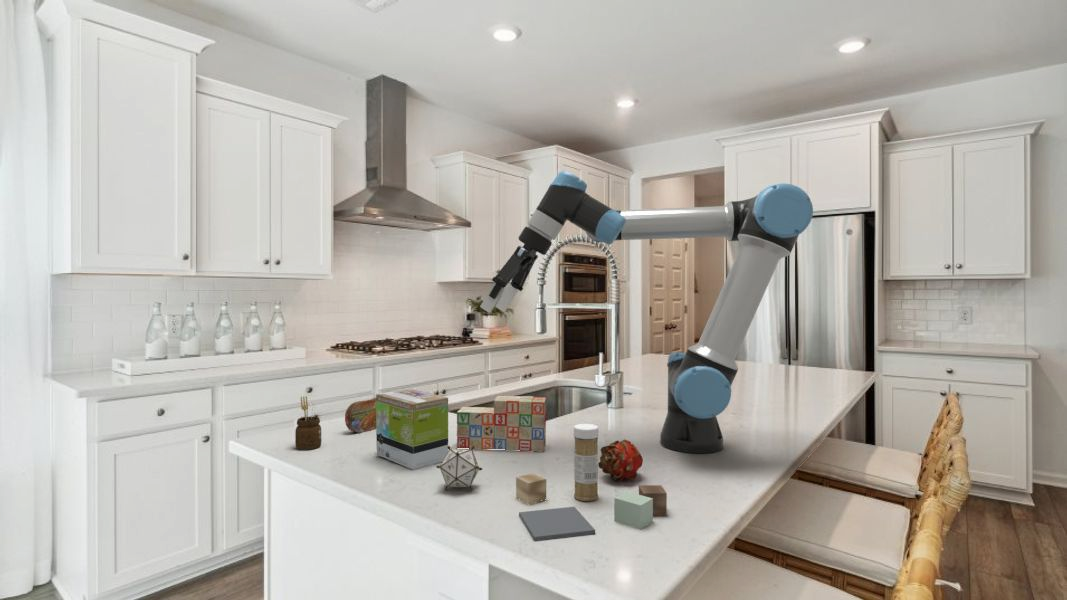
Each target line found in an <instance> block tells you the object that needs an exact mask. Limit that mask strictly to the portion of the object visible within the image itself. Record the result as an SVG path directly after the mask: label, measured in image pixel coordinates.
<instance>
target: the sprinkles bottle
mask: <svg viewBox="0 0 1067 600" xmlns="http://www.w3.org/2000/svg"><path fill="white" fill-rule="evenodd" d="M599 432H600V431H599V426H598V425H596V424H592V423H578V424H575V425H574V426H573V438H574V459H573V460H574V466H573V467H574V476H573V477H574V494H573V496H574V498H575V499H576V500H579V501H581V502H593V501H596V500H597V499H598V498H599V494H598V487H599V485H598V484H599V483H598V479H599V466H598V463H599V454H598V453H599V451H598V448H599V447H598V442H599V441H598V439H599Z"/></svg>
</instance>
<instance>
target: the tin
mask: <svg viewBox="0 0 1067 600" xmlns="http://www.w3.org/2000/svg"><path fill="white" fill-rule="evenodd" d="M344 422H345V425H346V428H347V429H348V430H349V431H351V432H353V433H359V434H362V433H367V432H370V431H372V430H373V431H374V430H376V397H373V398H367V399H364V400H359V401H355V402H353V403H350V405H349V406H348V407H347V409H346V410H345V414H344Z"/></svg>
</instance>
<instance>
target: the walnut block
mask: <svg viewBox="0 0 1067 600" xmlns="http://www.w3.org/2000/svg"><path fill="white" fill-rule="evenodd" d="M638 495H642V496H646V497H649V498H653V517H667V515H668V513H667V507H668V506H667V502H668V500H667V499H668V498H667V497H668V495H667V491H666V490H665V489H664V487H663V486H662V485H661V484H659V485H657V484H651V485H650V484H649V485H648V484H646V485H645V484H640V485H638Z"/></svg>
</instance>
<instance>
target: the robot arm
mask: <svg viewBox="0 0 1067 600" xmlns="http://www.w3.org/2000/svg"><path fill="white" fill-rule="evenodd" d="M587 188H588V184H587V183H586V181H584V180H583V179H582V178H579V177H578V176H577V175H576V174H573V173H572V172H570V171H567V170H561V171H559V172H558V173H557V175H556V177H555V178H554V179H553V181H552V182H551V183H550V184H549V187H548V188H547V190H546V191H545V194H544V195H543V197H542V198H541V200H540V202H539V203H538V205H537V206H536V208H535V210H534V212H533V211H532V212H530V214H529V215H530V216H531V217H530V219H529V220H528V222H527V225H528V226H524V228H523V229H522V231H521V232H520V234H519V236H518V241H520V242H521V243H522V244H523V246H521V245H518V246H517V247H516V249H515V251H514V252H513V254H512V255H511V256H510V257H509V259H508V260H507V261H506V263H505V264H504V265H503V266H502V268H501V269H500V270H499V271H498V273H497V274H496V275H495V276H493V277H492V279H491V281H492V282H494V283H493V284H492V285H491V288H490V290H488V293H487V295H486V296H485V298H484V300H482V303H481V304H480V306H479V308H481V309H483V310H484V311H485V312H487V313H489V314H491V313H492V311H493V310H494V308H496V309H498V310H499V311H501V312H503V313H505V312H507V311H506V310H507V309H508V308H509V306H510V305H511V303H512V301H513V300H514V298H515V297H516V295H517V293H518V291H520V292H522V291H523V290H524V285H525V283H526V280H527V278H528V276H529V274H530V273H531V270H532V268H533V266H534V264H535V262H536V261H537V259H538V258H539V255H538V254H537V253H539V254H540V255H542V256H545V255H547V253H548V251H549V250H550V248H551V246H552V243H553V240H554V241H555V240H556V239H557V237H558V236H559V234H560V232H561V230H562V229H563V227H564V225H565V223H567V221H568V222H569V223H571V224H573V225H575V226H576V227H577V228H580V229H581V230H582V231H584V232H585V234H586V235H587V237H588V238H589V239H590V240H592V241H594V242H596V243H604V244H606V245H608V246H609V245H611V244H613V243H614V242H615V241H635V240H664V239H665V240H666V239H667V240H668V239H671V240H673V239H697V238H698V239H699V238H701V239H702V238H706V239H707V238H725V239H726V240H727V241H728V242H739V243H740V246H739V249H738V252H737V253H736V256H735V259H734V261H733V263H732V265H731V268H730V269H729V272H728V274H727V276H726V279H725V281H724V283H723V285H722V288H721V290H720V293H719V295H718V297H717V299H716V302H715V304H714V306H713V309H712V310H711V312H710V315H709V318H708V319H707V322H706V324H705V327H704V329H703V331H702V333H701V336H700V338H699V341H698V342H697V343H696V344H694V345H692V346H689V347H688V348H687V350H686V352H673V353H670V354H669V355H668V359H667V364H666V366H667V413H666V417H665V420H664V423H663V426H662V428H661V431H660V434H659V435H660V437H659V439H660V440H659V441H660V445H661V446H663V447H664V448H666V449H669V450H673V451H677V452H682V453H690V454H691V453H692V454H708V453H716V452H719V451H722V450H723V449H724V437H723V434H722V430H721V427H720V424H719V422H718V418H717V416H718V415H721V413H723V412H724V411H725V410H726V408H728V405H729V404H730V402H731V401H730V400H731V396H732V384H733V383H734V380H735V377H736V375H737V373H738V371H739V367H738V364H737V362H736V357H737V356H738V353H739V351H740V348H741V347H742V344H743V343H744V339H745V337H746V335H747V333H748V331H749V328H750V326H751V324H752V322H753V319H754V317H755V315H756V313H757V311H758V308H759V306H760V304H761V302H762V299H763V297H764V295H765V293H766V291H767V289H768V286H769V284H770V282H771V279H772V278H773V275H774V273H775V270H776V269H777V267H778V264H779V262H780V260H781V259H783V258H786V257H788V256H790V255H791V252H793V248H794V246H795V245H796V243H797V241H798V238H799V235H800V234H802V233H803V232H804V231H805V230H806V229H807V228H808V226H809V225H810V224H811V221H812V219H813V216H814V215H813V214H814V207H813V202H812V201H811V200H812V199H811V198H810V196H809V195H808V193H806V191H805V190H803V189H802V188H801V187H799V186H797V185H795V184H792V183H785V182H784V183H783V182H782V183H777V184H773V185H769V186H767V187H766V188H764V189H762V190H761V191H760V192H759V193H758V194H757V195H755V196H754V197H751V198H747V199H744V200H743V199H741V200H737V201H736V200H735V201H728V202H726V203H725V205H721V206H720V205H717V206H695V207H694V206H692V207H669V208H667V207H666V208H645V209H622V210H620V209H619V210H615V209H613V208H611V207H610V206H608V205H607V204H604V203H603V202H601V201H599V200H597V199H596V198H594V197H592V196H591V195H589V194H588V193H587V191H586V190H587Z"/></svg>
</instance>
